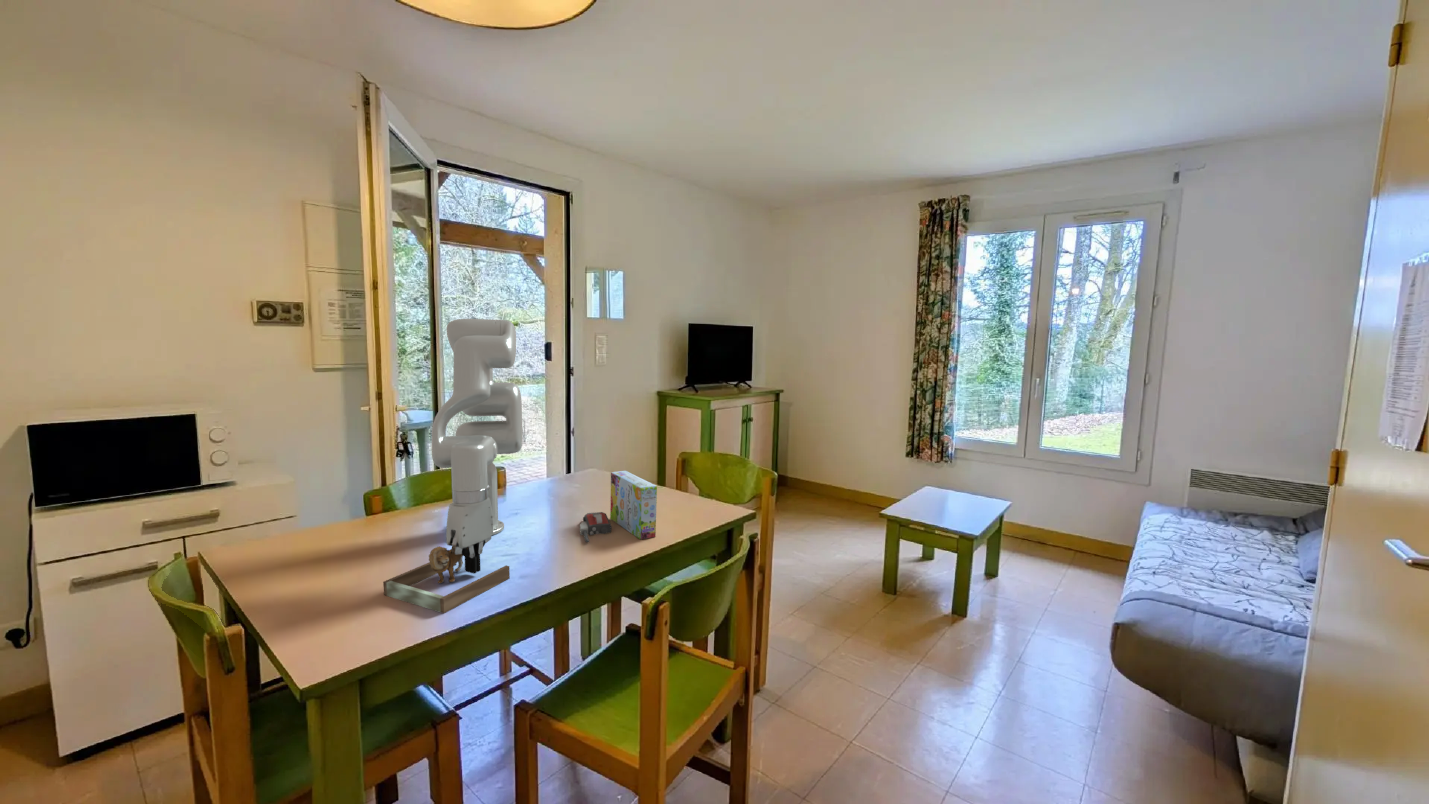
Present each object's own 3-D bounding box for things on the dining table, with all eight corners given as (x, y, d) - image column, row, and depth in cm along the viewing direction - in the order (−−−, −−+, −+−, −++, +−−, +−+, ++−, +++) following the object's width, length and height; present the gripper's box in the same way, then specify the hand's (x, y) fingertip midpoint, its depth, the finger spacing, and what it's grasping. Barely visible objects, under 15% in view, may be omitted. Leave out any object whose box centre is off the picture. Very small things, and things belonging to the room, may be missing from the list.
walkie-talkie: (576, 522, 168) (583, 546, 150) (576, 508, 168) (583, 531, 149) (605, 520, 171) (615, 543, 152) (605, 506, 171) (615, 528, 152)
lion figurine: (449, 589, 121) (443, 549, 120) (426, 590, 122) (420, 551, 121) (482, 562, 136) (477, 527, 135) (462, 563, 136) (457, 528, 135)
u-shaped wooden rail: (383, 594, 119) (383, 581, 119) (453, 564, 136) (452, 552, 135) (444, 613, 112) (443, 599, 112) (509, 578, 129) (509, 566, 128)
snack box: (657, 537, 157) (658, 485, 155) (639, 540, 154) (640, 488, 152) (625, 516, 174) (625, 469, 173) (608, 519, 171) (608, 471, 169)
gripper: (483, 485, 136) (485, 557, 138) (430, 501, 122) (433, 580, 124) (506, 489, 133) (508, 562, 135) (455, 506, 119) (458, 587, 122)
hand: (472, 571), depth 130 cm, fingers closed
